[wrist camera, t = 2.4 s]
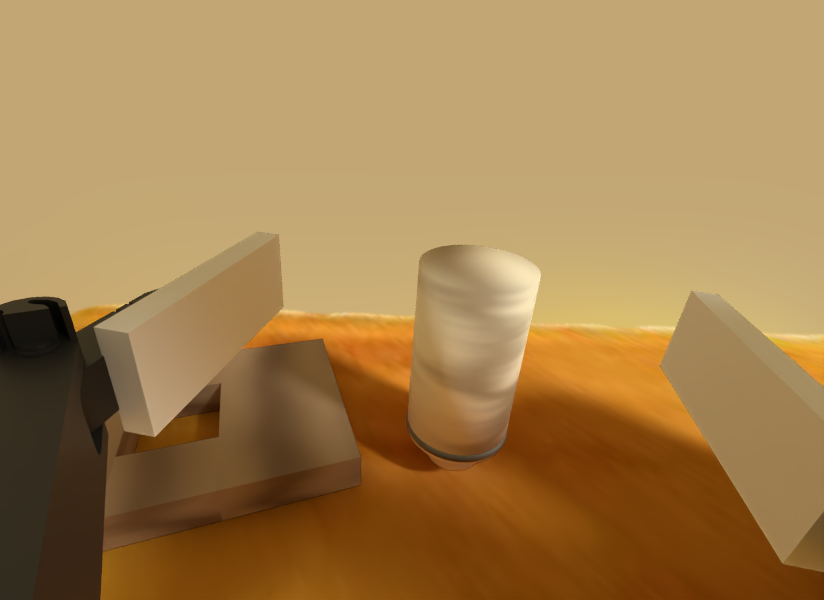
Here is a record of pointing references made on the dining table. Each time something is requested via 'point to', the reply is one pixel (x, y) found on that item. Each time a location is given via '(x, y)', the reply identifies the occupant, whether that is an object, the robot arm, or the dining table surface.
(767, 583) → the dining table surface
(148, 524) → the walnut board
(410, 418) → the ash leg
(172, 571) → the dining table surface
